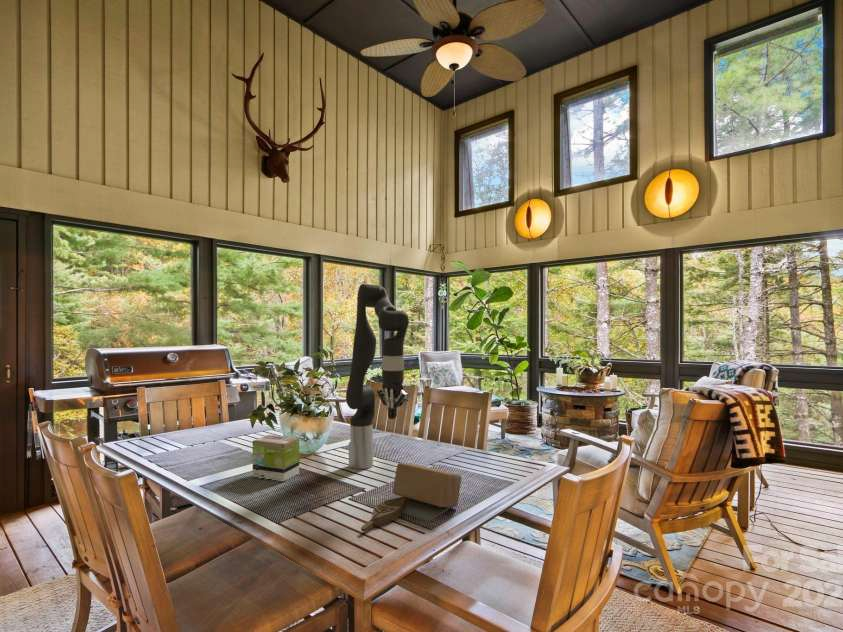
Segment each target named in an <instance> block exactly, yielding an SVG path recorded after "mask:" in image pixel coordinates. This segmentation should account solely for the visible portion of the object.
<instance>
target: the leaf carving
mask: <svg viewBox="0 0 843 632" xmlns="http://www.w3.org/2000/svg"><path fill="white" fill-rule="evenodd" d="M389 499H390V498H389ZM383 502H384V503H383ZM404 508H405V497H404V498H403V497H398V498H393V499H390V500H388V499H387V500H386V499H385V500H384V501H381V502H379V503H378V504H377V505H375V507H374V509H373V510H372V516H371V519H370V520H369V521H367V522H365V524H364V525H362V526H361V527H360V531H361V532H367V530H369V529H370V528H372V527H378V526H382V525H384V524H387V523H390V522H392V521H395V520H397V519H398V518H399V517H400V516H401V515H402V514H403V511H404Z"/></svg>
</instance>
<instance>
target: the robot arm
mask: <svg viewBox="0 0 843 632" xmlns="http://www.w3.org/2000/svg"><path fill="white" fill-rule="evenodd" d="M367 308H373V309H374V314H375V315H376V316H377V318H378V320H377V321H378V327H379V329H380V330H381V331H384V332H396V333H395V335H394V336H391V337H388V338H384V339H383V342H382V361H381V382H382V384H381V385H382V386H381V388H380V389H378V390H377V391H376V393H377V396H378V397H379V398H380V401H381V403H382V404H383V406H385V407H387V417H388V419H390V420H396V418H397V414H398V410H397V409H398V408H399V407H402V406H403V404H404V403H405V402H406V400H407V398H408V397H409V393H408V392H405V390H404V387H403V383H404V379H405V378H404V375H405V374H404V373H405V371H404V370H405V361H404V343H405V337H406V334H407V330H408V327H409V323H410V318H409V315H408V313H407V312H406V311H404V310H397V309H396V308H397V307H395V306H394V304H392V303H391V301H390V298H389V295H388V293H387V290H386V288H384V287H383V286H382V285H379V284H378V285H377V284H368V283H361V284H360V285H359V287H358V290H357V299H356V320H355V321H356V322H355V328H354V329H355V331H354V337H353V347H352V356H351V357H352V358H351V366H350V374H349V379H348V382H347V387H346V391H345V392H346V393H345V401H346V404H347V407H348V408H349V409H351V410H356V411H355V413H354V414H353V415H352V416H351V417H350V419H349V420H350V422H349V424H350V427H349V430H350V431H349V432H350V441H349V442H348V466H350V467H351V468H352V469H355V470H365V469H369V468H372V467H373V466H374V448H373V447H374V435H373V434H374V433H373V432H374V430H373V429H374V428H373V426H374V425H373V424H374V422H373V420H374V418H375V410H376V409H375V408H376V395H375V391H374V389H373V387H372V386H371V385H369V384H364V382H365V379H366V374H367V373H368V371H369V369H370V367H371V365H372V363H373V361H374V359H375V355H376V350H377V338H376V337H377V336H376V334H375V333H374V331H373V328H372V327H371V325H370V322H369V321H368V317H367V316H368V315H367Z"/></svg>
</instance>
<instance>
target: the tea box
mask: <svg viewBox="0 0 843 632" xmlns="http://www.w3.org/2000/svg"><path fill="white" fill-rule="evenodd" d="M297 474H298V475H300V438H299V437H291V436H284V435H283V436H282V435H276V434H275V435H272V434H267V435H265V436H262V437H260V438H257V439H254V440H252V477H253V476H255V477H263V478H269V479H275V480H281V481H285V480H287V479H289V478H291V477H293V476H295V475H297ZM298 475H297V476H298ZM295 477H296V476H295ZM293 478H294V477H293ZM291 479H292V478H291Z"/></svg>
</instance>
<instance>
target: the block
mask: <svg viewBox="0 0 843 632" xmlns="http://www.w3.org/2000/svg"><path fill="white" fill-rule="evenodd" d="M394 475H395V476H394V482H393V486H392V493H393V494H394V496H396V495H399V496H402V497H406V498H410V499H413V500H417V501H420V502H424V503H428V504H431V505H435V506H439V507H452V508H457V507H458V505H459V499H460V498H459V497H460V492H461V491H460V490H461V485H462V484H461V483H462V475H461V474H459V473H455V472H452V471H451V472H450V471H447V470H440V469H437V468H433V467H428V466H423V465H419V464H415V463H406V462H405V463H404V462H398V463H397V465H396V470H395V474H394Z"/></svg>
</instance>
